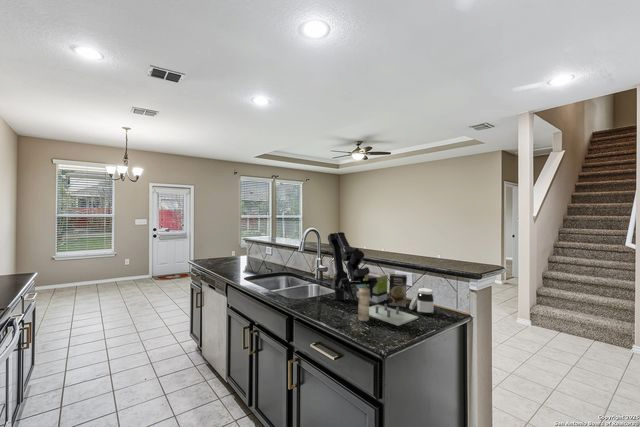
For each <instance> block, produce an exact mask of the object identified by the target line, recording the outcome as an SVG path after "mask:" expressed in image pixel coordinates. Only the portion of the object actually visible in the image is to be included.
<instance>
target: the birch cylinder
mask: <svg viewBox="0 0 640 427" xmlns="http://www.w3.org/2000/svg"><path fill="white" fill-rule="evenodd" d="M369 296H370V289H368V288H359V297H358V305H357V306H358V308H357V309H358V310H357V312H358V313H357V316H358V318H357V320H358V321H360V322H368V321H369V320H370V316H369V307H370V301H369Z"/></svg>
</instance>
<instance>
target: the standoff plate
mask: <svg viewBox="0 0 640 427" xmlns="http://www.w3.org/2000/svg"><path fill="white" fill-rule="evenodd" d="M395 307H396V308H395V309H394V308H391V307H388V303H384V305H381V304H375V305H374V304H373V305H372V306H369V317H371V318H374V319H377V320H380V321H383V322H386V323H389V324H391V325H394V326H397V327H398V326H402V325H405V324H407V323H409V322H412V321H416V320H417V319H419V316H417V315H414V314H410V313H407V312H404V311H402V310H401V311H400V306H395Z"/></svg>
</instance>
